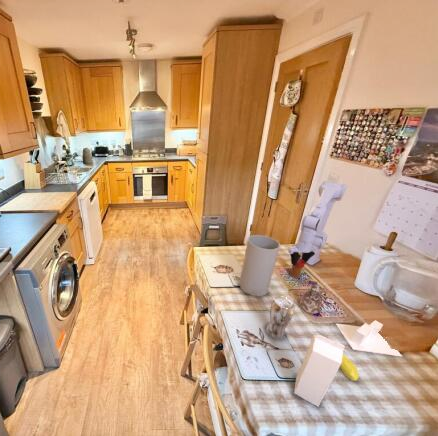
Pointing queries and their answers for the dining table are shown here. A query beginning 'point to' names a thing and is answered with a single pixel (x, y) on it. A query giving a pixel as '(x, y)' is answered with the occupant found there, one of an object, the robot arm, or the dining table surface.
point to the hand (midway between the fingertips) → (298, 263)
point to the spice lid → (300, 263)
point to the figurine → (312, 299)
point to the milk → (318, 369)
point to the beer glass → (280, 316)
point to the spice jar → (295, 271)
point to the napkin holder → (367, 338)
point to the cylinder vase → (258, 264)
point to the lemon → (349, 368)
